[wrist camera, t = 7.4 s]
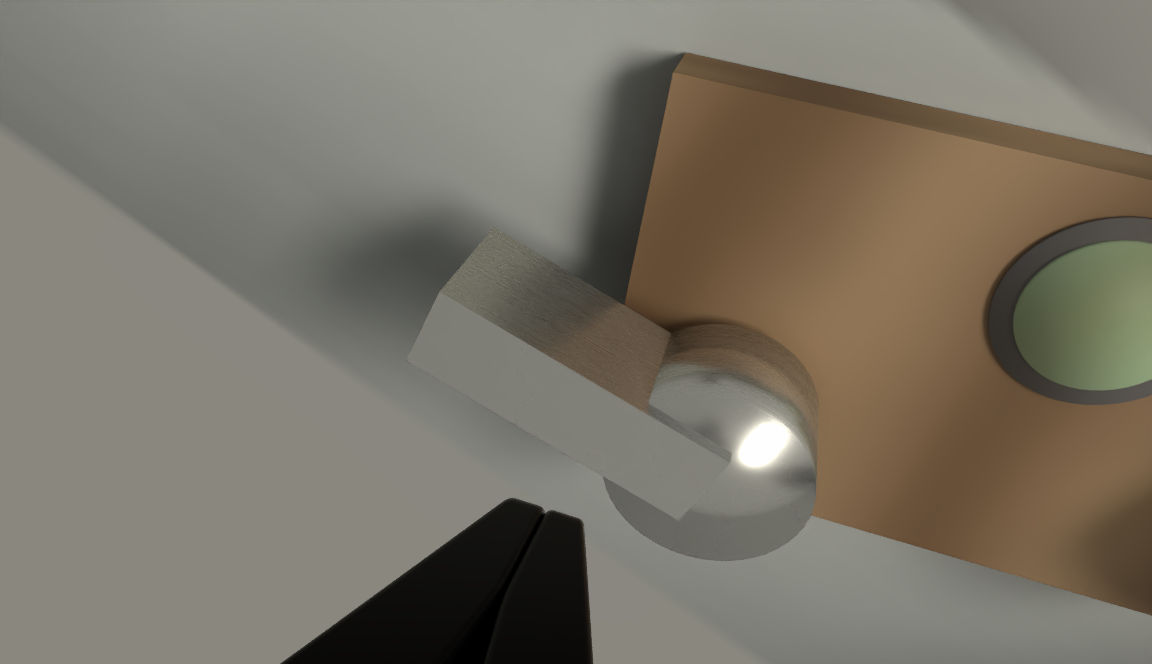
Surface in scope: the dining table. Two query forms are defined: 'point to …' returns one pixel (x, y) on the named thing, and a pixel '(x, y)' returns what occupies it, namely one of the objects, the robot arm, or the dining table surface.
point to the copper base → (927, 311)
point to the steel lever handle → (635, 400)
